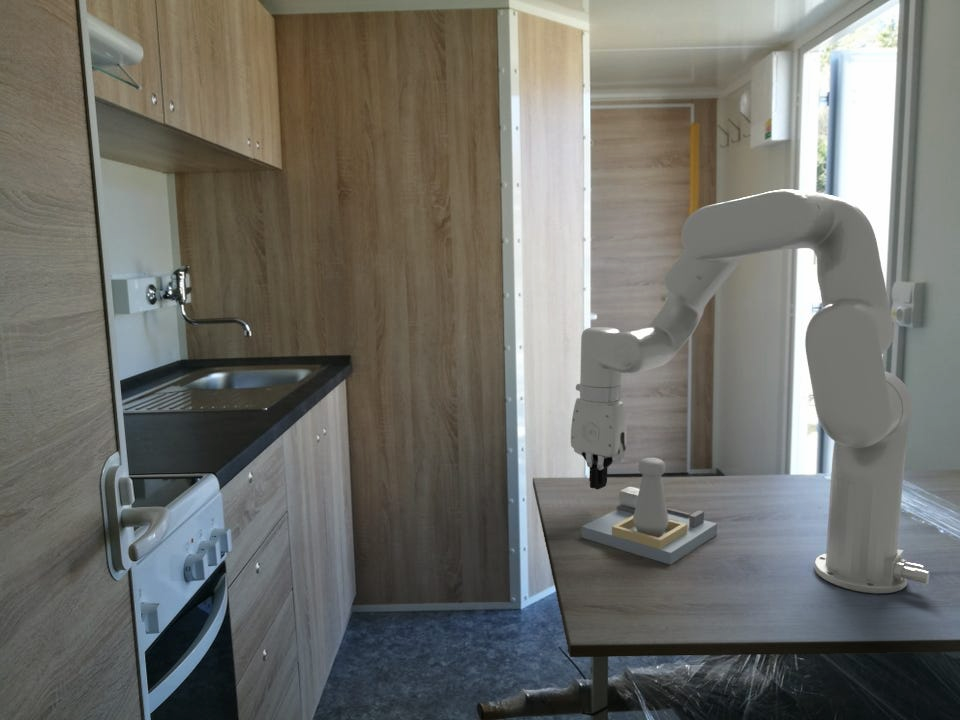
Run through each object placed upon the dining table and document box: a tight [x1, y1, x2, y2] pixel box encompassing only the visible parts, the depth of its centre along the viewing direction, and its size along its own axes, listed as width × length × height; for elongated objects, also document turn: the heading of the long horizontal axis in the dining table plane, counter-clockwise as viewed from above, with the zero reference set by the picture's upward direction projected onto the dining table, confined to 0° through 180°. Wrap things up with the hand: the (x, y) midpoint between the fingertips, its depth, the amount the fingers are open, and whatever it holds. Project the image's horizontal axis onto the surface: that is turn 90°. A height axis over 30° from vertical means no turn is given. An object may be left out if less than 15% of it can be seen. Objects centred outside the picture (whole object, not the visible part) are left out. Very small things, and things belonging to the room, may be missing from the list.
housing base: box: [581, 504, 718, 565], centre depth 130 cm, size 17×16×4 cm
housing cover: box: [618, 486, 640, 510], centre depth 137 cm, size 5×3×3 cm
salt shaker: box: [633, 457, 669, 538], centre depth 125 cm, size 6×6×13 cm
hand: (598, 486), depth 143 cm, fingers closed
